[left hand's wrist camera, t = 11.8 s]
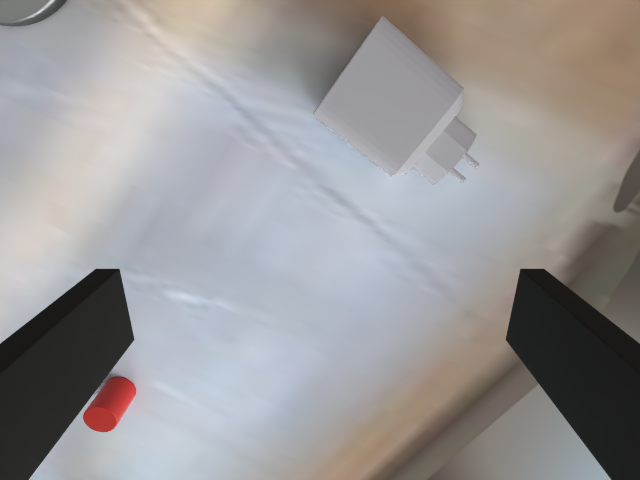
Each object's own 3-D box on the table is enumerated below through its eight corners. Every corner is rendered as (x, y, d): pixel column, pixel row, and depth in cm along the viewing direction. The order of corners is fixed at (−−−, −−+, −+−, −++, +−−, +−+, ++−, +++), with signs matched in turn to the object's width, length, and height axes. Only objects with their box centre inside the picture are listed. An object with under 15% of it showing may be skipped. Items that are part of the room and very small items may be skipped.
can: (111, 402, 49) (89, 433, 44) (101, 378, 47) (78, 408, 43) (140, 399, 48) (121, 430, 44) (130, 375, 47) (110, 405, 42)
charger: (430, 204, 39) (312, 112, 36) (495, 130, 36) (375, 23, 33) (444, 219, 35) (311, 115, 31) (520, 135, 32) (383, 12, 29)
